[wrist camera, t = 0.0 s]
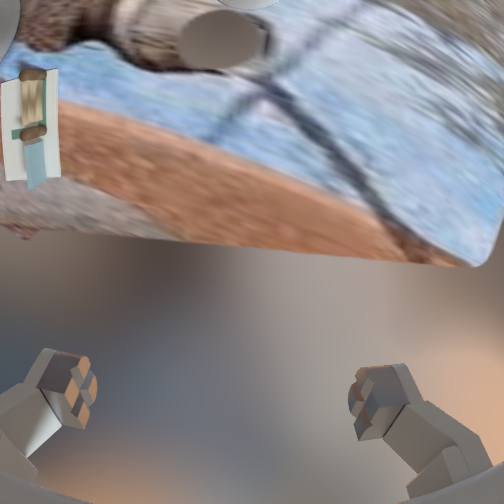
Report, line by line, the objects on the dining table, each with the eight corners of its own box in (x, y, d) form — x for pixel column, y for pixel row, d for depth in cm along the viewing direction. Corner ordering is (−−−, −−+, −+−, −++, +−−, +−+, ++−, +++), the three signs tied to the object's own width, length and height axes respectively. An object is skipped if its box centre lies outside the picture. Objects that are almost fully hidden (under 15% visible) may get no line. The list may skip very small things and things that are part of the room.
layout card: (2, 83, 42) (0, 83, 41) (58, 68, 43) (57, 68, 42) (7, 180, 51) (6, 181, 51) (61, 176, 52) (60, 177, 52)
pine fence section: (39, 71, 42) (19, 70, 36) (48, 68, 42) (28, 68, 36) (39, 135, 48) (19, 142, 42) (48, 134, 48) (28, 140, 42)
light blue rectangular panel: (39, 140, 48) (23, 145, 43) (43, 139, 48) (28, 145, 43) (43, 181, 51) (28, 189, 47) (47, 181, 51) (32, 189, 47)
